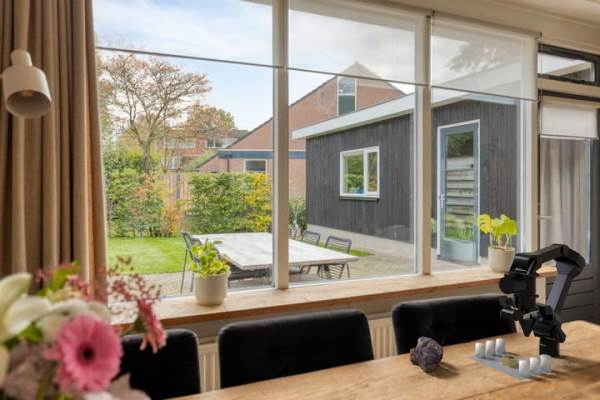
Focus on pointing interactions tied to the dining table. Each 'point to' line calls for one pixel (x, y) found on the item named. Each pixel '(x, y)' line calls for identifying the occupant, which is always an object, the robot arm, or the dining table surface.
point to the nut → (510, 360)
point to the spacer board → (524, 366)
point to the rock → (427, 354)
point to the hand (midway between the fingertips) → (526, 336)
